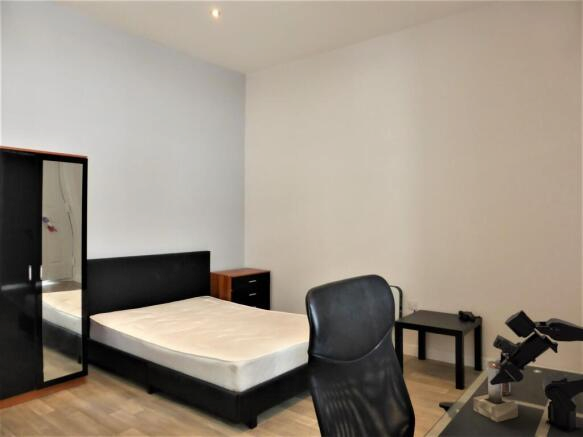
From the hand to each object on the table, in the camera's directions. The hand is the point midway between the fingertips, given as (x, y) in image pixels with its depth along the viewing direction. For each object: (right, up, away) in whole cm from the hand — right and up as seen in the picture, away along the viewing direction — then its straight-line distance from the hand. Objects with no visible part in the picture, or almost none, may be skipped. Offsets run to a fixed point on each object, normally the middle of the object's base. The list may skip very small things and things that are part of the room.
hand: (491, 378), depth 134 cm
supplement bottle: (+11, -11, +16) cm, 23 cm away
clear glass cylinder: (+1, -7, -1) cm, 7 cm away
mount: (+1, -11, -1) cm, 11 cm away
